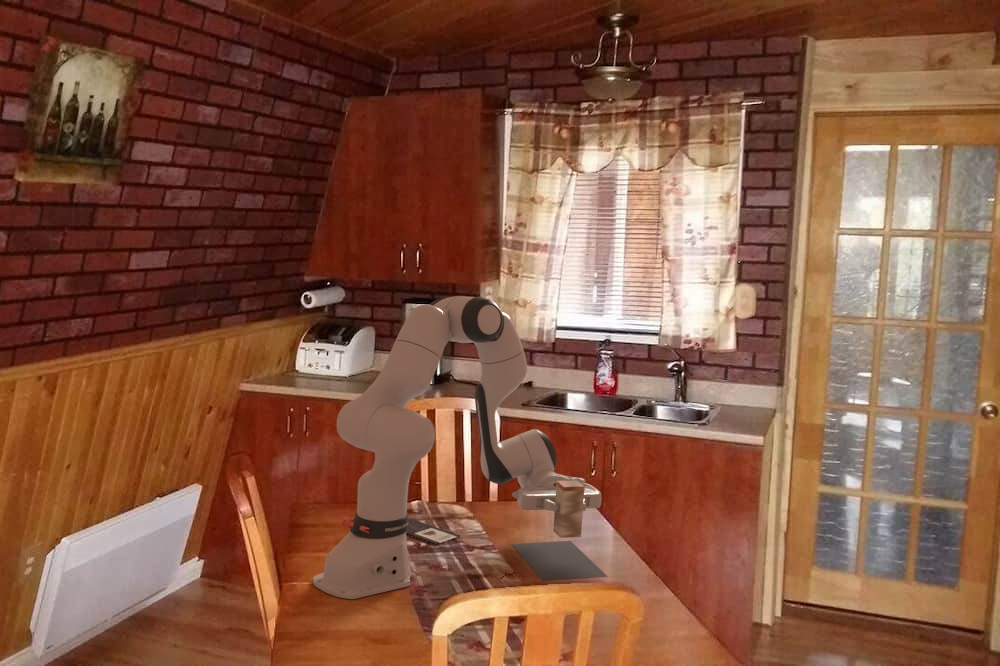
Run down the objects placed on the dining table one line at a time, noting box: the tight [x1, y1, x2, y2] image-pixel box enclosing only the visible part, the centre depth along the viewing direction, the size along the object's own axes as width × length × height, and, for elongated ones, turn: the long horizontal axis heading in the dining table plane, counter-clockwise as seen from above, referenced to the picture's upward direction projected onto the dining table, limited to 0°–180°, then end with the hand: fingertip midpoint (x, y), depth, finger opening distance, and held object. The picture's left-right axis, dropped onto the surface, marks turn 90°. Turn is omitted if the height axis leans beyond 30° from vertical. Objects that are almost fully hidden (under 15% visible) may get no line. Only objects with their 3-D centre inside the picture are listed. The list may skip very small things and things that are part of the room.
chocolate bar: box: [406, 518, 461, 546], centre depth 236 cm, size 9×1×18 cm
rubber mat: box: [510, 540, 608, 582], centre depth 219 cm, size 24×16×1 cm, turn 17°
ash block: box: [552, 481, 585, 539], centre depth 212 cm, size 5×5×12 cm
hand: (570, 508), depth 211 cm, fingers closed on ash block, 5 cm apart
